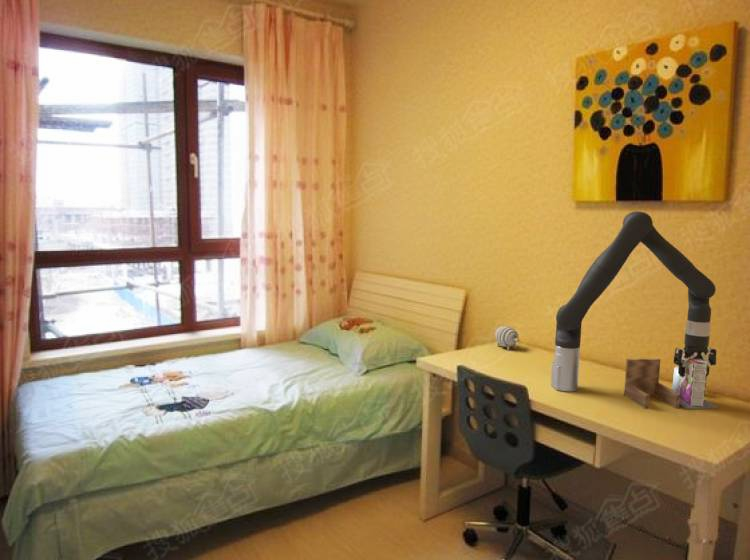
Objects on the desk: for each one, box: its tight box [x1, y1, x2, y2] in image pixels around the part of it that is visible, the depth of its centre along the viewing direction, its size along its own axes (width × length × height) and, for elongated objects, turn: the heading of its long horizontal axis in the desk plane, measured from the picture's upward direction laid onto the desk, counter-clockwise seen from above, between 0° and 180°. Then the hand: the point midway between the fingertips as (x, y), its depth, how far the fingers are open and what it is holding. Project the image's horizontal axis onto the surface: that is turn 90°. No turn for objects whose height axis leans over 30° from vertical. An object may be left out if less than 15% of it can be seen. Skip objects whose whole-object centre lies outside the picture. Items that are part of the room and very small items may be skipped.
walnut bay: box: [623, 358, 680, 410], centre depth 189 cm, size 12×14×14 cm
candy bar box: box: [678, 353, 708, 407], centre depth 188 cm, size 11×5×16 cm, turn 170°
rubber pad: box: [679, 397, 719, 410], centre depth 189 cm, size 12×12×1 cm
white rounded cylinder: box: [671, 366, 680, 393], centre depth 199 cm, size 7×7×9 cm
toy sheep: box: [494, 325, 520, 351], centre depth 260 cm, size 11×17×11 cm, turn 32°
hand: (693, 376), depth 187 cm, fingers open, 8 cm apart
